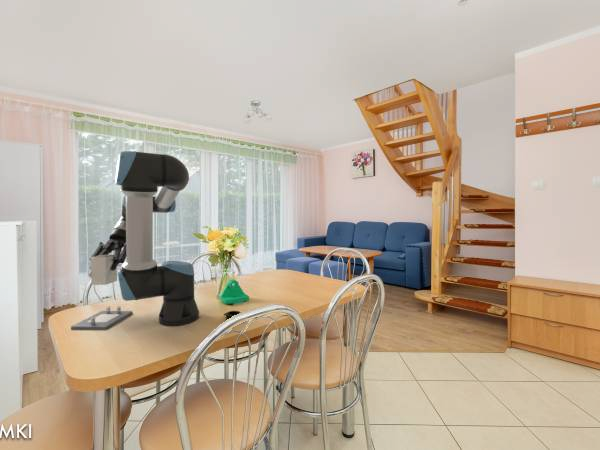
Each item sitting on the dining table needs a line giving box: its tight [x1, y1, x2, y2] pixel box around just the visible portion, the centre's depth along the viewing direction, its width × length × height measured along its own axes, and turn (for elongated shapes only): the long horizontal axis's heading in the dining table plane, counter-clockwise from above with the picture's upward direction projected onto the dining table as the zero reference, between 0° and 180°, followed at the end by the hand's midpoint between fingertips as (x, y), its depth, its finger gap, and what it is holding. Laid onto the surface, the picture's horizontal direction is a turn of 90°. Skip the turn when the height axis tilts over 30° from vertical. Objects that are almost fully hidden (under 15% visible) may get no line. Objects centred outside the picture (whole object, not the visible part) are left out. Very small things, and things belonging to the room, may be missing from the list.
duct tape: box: [223, 310, 242, 321], centre depth 121 cm, size 8×10×3 cm
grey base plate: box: [70, 306, 133, 331], centre depth 119 cm, size 13×17×4 cm
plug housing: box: [90, 254, 118, 286], centre depth 125 cm, size 6×7×11 cm
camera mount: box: [219, 278, 250, 305], centre depth 144 cm, size 12×8×10 cm, turn 125°
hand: (98, 276), depth 121 cm, fingers closed on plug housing, 6 cm apart
